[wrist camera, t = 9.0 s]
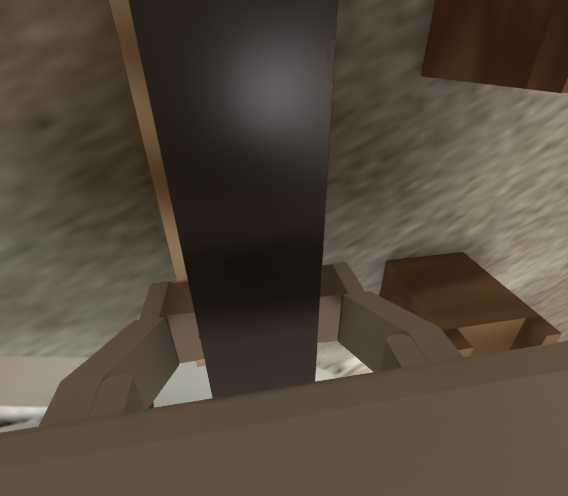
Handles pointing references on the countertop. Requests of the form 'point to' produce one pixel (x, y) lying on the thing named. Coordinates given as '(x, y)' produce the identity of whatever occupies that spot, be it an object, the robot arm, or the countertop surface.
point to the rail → (246, 173)
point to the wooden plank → (148, 130)
